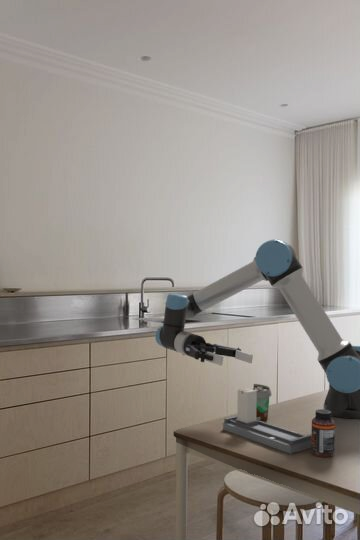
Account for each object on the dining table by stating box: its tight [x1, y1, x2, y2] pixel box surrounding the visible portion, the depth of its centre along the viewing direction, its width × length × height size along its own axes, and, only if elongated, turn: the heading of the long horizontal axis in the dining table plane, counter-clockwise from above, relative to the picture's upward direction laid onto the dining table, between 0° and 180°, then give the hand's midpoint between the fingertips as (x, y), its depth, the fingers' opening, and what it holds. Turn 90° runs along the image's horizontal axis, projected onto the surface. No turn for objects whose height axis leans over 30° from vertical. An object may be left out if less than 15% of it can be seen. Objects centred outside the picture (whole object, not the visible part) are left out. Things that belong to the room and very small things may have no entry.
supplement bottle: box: [310, 408, 336, 458], centre depth 139 cm, size 6×6×11 cm
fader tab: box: [235, 387, 259, 426], centre depth 158 cm, size 5×5×10 cm
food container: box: [252, 383, 273, 422], centre depth 171 cm, size 12×6×10 cm, turn 168°
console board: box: [222, 415, 312, 455], centre depth 152 cm, size 10×26×3 cm, turn 38°
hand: (237, 360), depth 162 cm, fingers open, 13 cm apart
